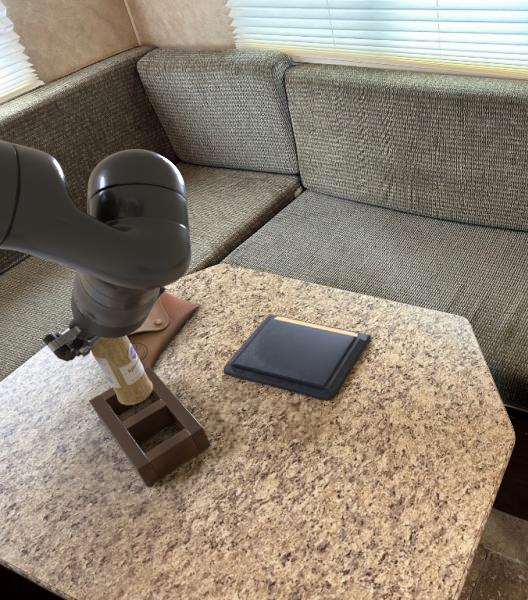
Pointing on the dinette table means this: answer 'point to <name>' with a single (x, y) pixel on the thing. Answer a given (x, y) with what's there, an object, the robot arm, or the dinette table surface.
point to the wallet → (298, 356)
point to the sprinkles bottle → (123, 369)
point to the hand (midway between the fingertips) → (99, 336)
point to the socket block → (152, 430)
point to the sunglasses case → (161, 327)
